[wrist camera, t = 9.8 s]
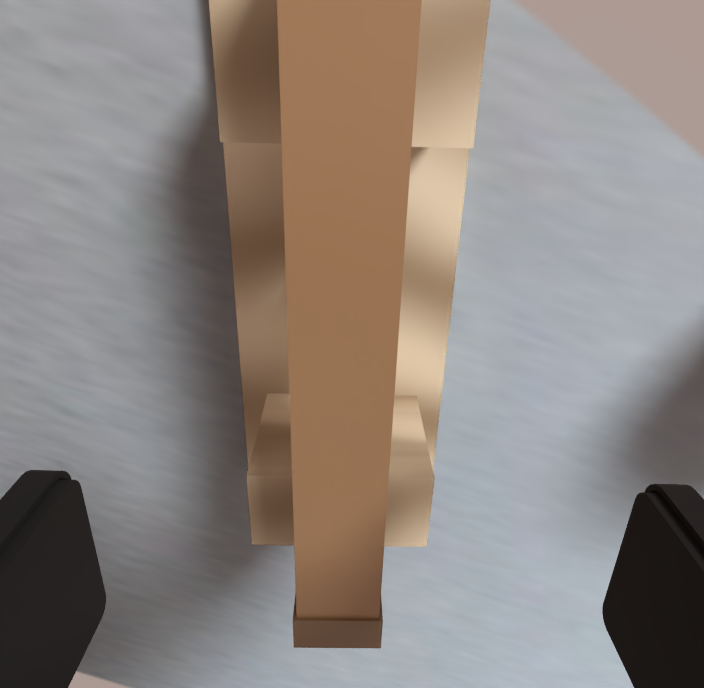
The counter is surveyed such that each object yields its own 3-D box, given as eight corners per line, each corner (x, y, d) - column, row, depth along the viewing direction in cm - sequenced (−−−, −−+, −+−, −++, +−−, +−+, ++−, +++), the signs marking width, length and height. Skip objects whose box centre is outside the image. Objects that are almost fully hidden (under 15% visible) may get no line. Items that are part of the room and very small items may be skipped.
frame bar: (286, -72, 11) (265, -122, 8) (414, -68, 11) (437, -117, 8) (301, 564, 19) (293, 647, 16) (375, 564, 19) (380, 648, 16)
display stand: (428, 468, 25) (450, 577, 19) (252, 466, 25) (226, 575, 19) (482, -33, 16) (550, -87, 11) (215, -41, 16) (150, -100, 11)
